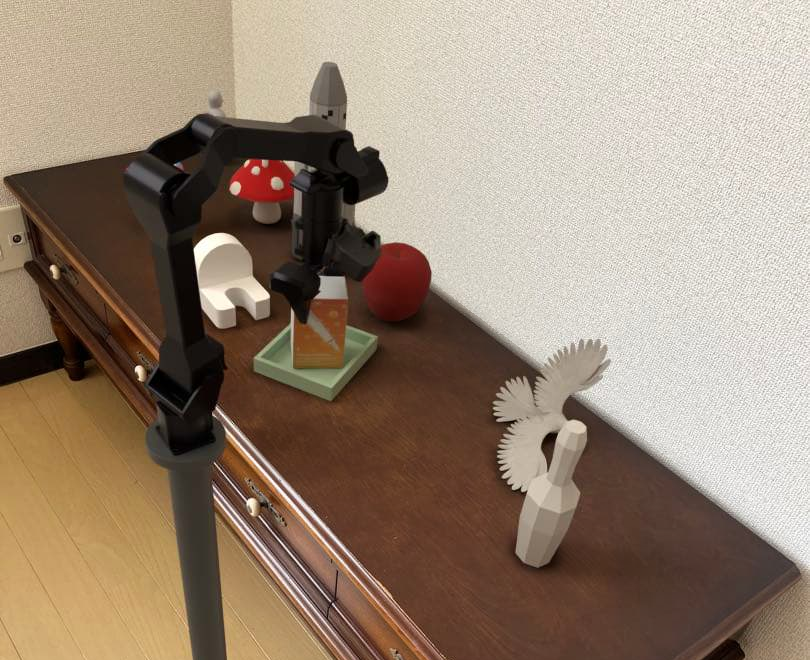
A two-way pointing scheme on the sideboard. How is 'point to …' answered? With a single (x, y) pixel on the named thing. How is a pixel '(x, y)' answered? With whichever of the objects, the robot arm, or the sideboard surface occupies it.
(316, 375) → the tray
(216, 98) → the figurine
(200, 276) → the white slotted holder
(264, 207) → the decorative mushroom
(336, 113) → the toy rocket
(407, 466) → the sideboard surface
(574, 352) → the bird
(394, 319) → the apple
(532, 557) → the low poly bottle
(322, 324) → the small box
